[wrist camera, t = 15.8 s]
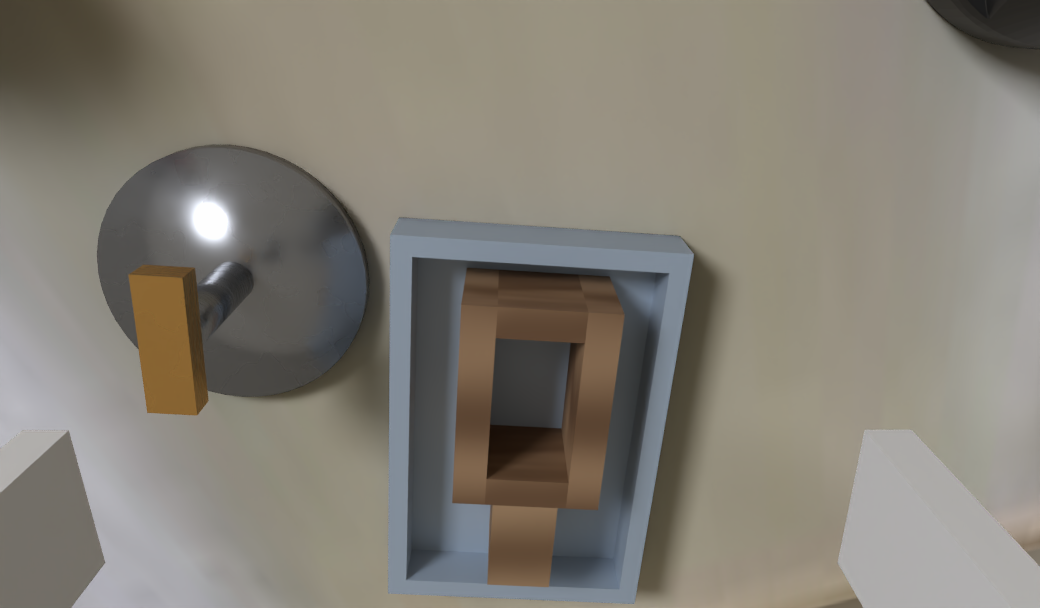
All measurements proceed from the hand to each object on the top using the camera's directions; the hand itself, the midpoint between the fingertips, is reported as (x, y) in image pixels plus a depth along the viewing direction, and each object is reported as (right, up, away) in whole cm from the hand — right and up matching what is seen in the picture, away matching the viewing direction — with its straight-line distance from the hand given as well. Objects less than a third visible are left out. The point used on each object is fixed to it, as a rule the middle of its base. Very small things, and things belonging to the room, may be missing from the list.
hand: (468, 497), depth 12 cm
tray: (+1, -3, +27) cm, 28 cm away
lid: (-13, +5, +24) cm, 28 cm away
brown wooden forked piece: (+1, -2, +27) cm, 27 cm away
